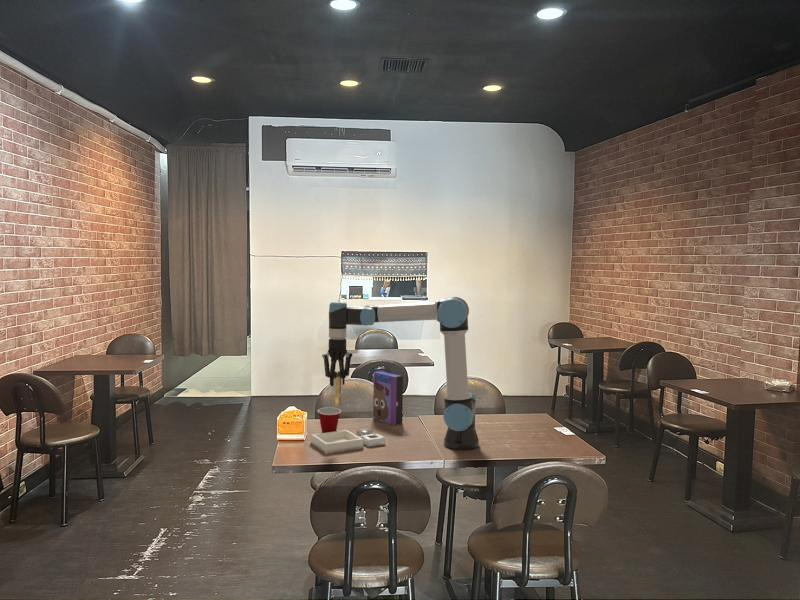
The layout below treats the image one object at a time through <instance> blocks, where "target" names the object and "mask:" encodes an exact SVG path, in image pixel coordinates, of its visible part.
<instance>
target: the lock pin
mask: <svg viewBox="0 0 800 600" xmlns="http://www.w3.org/2000/svg"><path fill="white" fill-rule="evenodd" d="M334 378H335V379H336V394H333V399H332V400H333V402H332V403H333V404H332V405H333V406H334V407H340V406H341V402H342V401H341V394H342V393H341V371H340V370H337V371H336V370H335V375H334Z"/></svg>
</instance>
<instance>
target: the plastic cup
mask: <svg viewBox="0 0 800 600" xmlns="http://www.w3.org/2000/svg"><path fill="white" fill-rule="evenodd" d="M341 412H342V410H341V409H340V408H337V407H332V406H331V407H327V406H326V407H321V408H319V409H317V413H318V417H319V420H320V422H319V423H320V429H321V433H327V432H334V431H337V429H338V424H339V418H340V415H341V414H342V413H341Z"/></svg>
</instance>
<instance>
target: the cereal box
mask: <svg viewBox="0 0 800 600" xmlns="http://www.w3.org/2000/svg"><path fill="white" fill-rule="evenodd" d="M372 383H373V385H372V386H373V388H372V389H373V393H372V394H373V395H372V396H373V397H372V398H373V401H372V405H373V407H372V408H373V409H372V412H373V413H372V416H373V417H372V419H373V420H376V419H378V420H377V421H379V420H382V421H384V422H383V423H385V422H387V423H386V424H388V423H390V424H389V425H392V424H394V425H393V426H398V425H397V424H400V425H403V405H404V404H403V403H404V402H403V399H404V398H403V397H404V396H403V393H404V390H403V389H404V388H403V387H404V375H399V374H394V373H389V372H385V371H374V372H373V382H372ZM382 421H381V422H382Z"/></svg>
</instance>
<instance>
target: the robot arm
mask: <svg viewBox="0 0 800 600" xmlns="http://www.w3.org/2000/svg"><path fill="white" fill-rule="evenodd" d="M469 313H470V307H469V305H468V303H467V302H466V300H465V299H463V298H461V297H458V296H453V297H448V298H445V299H437V300H436V301H434V302H415V303H413V302H412V303H398V304H397V303H396V304H395V303H394V304H378V305H374V304H373V305H372V304H371V305H364V306H359V307H358V306H357V307H356V306H355V307H354V306H353V307H351V306H348V304H347V302H343V301H332V302H330V303H329V309H328V338H329V339H328V350H327V352H326V353H323V354H322V356H321V357H322V359H323V362H324V363H323V365H324V375H325V377H326V378H329V386H331V394H333V395H334V394H336V379H335V378H334V375H335V371H336V366H337V365H336V364H337V362H338V367H339V371H341V394H344V389H343V388H344V386H345V379H346V378H347V377H349V375H350V367H351V359H352V357H353V353H351V352H349V351H348V350H347V339H346V338H347V329H348V327H347V326H349V325H350V326H354V325H355V326H364V327H365V326H373V325H374V324H375V323H389V322H390V323H391V322H392V323H393V322H413V321H414V322H415V321H416V322H418V321H436V322H438V323H439V331H440V333H441V334H442V335H443V339H444V340H443V341H444V356H445V359H444V360H445V373H446V374H445V375H446V376H445V377H446V394H445V395H444V396H443V404H444V412H443V416H442V417H443V421H444V423H445V425H446V427H447V430H446V433H445V436H444V437H443V445H444V446H445V447H446V448H449V449H453V450H459V449H460V450H463V451H465V450H467V449H468V450H474V449H477V448H479V446H480V441H479V437H478V433H477V429H476V402H477V399H476V394H475V393H473V392H469V383H468V367H467V366H468V365H467V350H466V349H467V347H466V334H467V332H469ZM329 357H330V361H329ZM476 447H477V448H476ZM473 448H474V449H473ZM460 450H459V451H460ZM468 450H467V451H468Z"/></svg>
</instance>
